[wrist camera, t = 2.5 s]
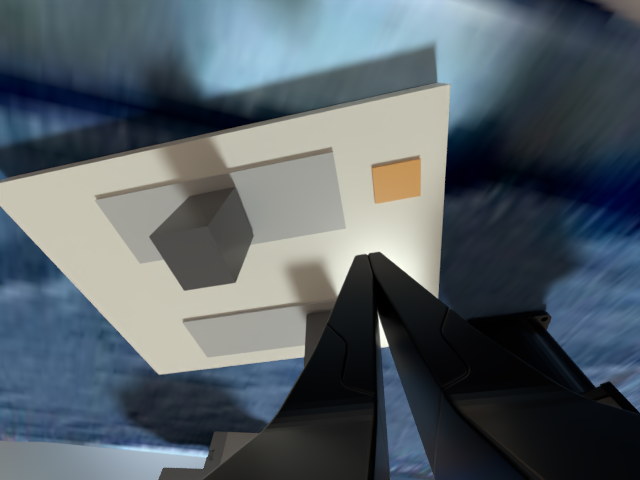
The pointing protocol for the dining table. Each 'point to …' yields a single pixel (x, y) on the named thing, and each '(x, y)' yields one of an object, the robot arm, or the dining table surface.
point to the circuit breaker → (211, 456)
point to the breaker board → (264, 218)
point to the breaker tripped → (205, 239)
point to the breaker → (314, 331)
